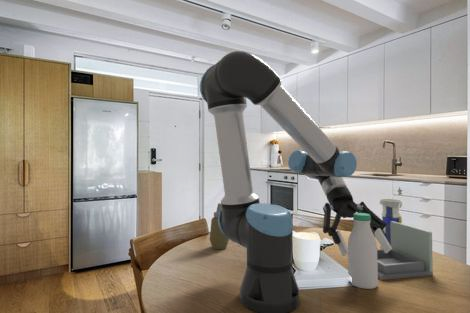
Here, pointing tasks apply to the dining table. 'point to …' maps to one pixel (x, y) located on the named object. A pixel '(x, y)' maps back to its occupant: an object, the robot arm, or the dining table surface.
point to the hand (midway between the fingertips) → (367, 252)
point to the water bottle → (390, 214)
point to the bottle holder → (406, 253)
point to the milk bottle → (362, 253)
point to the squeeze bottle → (217, 232)
